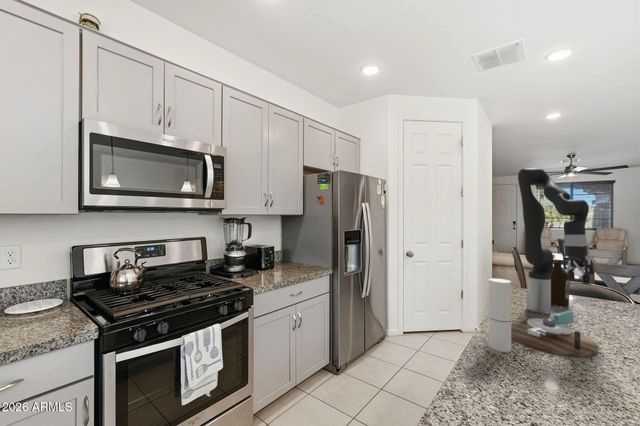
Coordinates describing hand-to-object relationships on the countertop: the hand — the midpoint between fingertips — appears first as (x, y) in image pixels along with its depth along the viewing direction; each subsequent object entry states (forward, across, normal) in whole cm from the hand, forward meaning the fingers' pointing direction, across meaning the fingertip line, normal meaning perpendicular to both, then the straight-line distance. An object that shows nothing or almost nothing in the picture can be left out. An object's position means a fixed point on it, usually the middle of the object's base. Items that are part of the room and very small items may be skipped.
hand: (578, 282), depth 124 cm
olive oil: (+20, -40, +14) cm, 47 cm away
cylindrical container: (+20, +23, -43) cm, 53 cm away
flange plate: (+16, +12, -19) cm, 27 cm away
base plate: (+20, +13, -21) cm, 32 cm away
